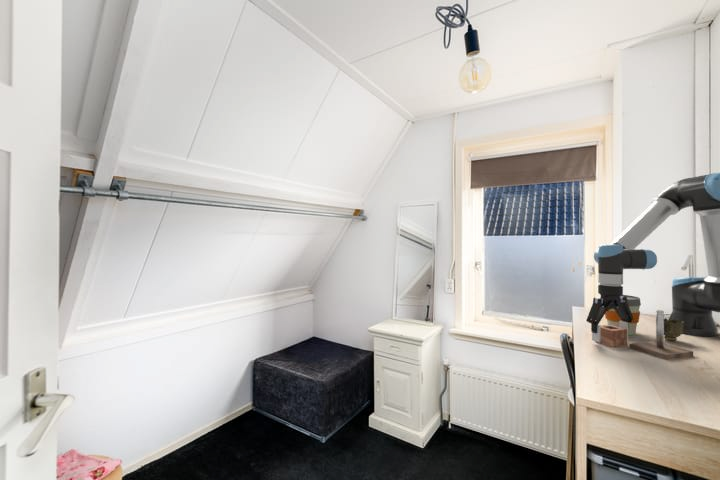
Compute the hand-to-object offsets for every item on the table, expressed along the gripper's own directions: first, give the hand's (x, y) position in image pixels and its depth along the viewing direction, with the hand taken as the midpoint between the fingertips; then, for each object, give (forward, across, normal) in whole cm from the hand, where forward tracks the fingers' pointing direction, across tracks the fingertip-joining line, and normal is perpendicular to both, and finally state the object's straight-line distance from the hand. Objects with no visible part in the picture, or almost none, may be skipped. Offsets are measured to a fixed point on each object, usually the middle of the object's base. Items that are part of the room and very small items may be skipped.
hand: (610, 339), depth 124 cm
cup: (+1, -25, +4) cm, 26 cm away
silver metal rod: (-1, -7, +12) cm, 14 cm away
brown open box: (+1, 0, 0) cm, 1 cm away
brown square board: (+1, -7, +12) cm, 14 cm away
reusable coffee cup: (+1, -19, -10) cm, 22 cm away
